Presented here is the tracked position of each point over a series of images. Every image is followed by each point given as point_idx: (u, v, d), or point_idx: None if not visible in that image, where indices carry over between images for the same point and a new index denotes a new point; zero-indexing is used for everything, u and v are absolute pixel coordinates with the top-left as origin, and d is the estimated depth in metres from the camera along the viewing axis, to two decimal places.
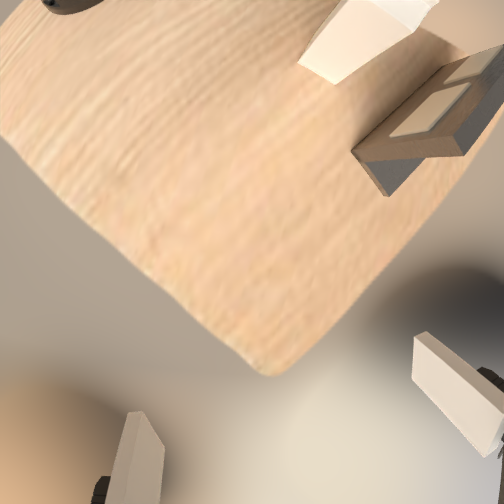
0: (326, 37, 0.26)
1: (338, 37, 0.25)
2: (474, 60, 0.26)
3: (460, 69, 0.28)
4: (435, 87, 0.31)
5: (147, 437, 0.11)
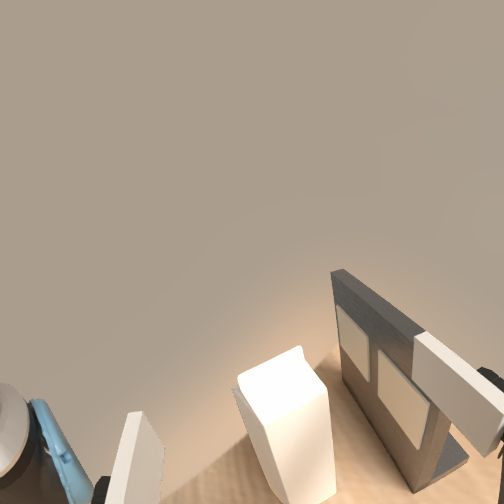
0: (290, 480, 0.23)
1: (297, 469, 0.23)
2: (348, 341, 0.40)
3: (356, 359, 0.38)
4: (369, 392, 0.35)
5: (147, 437, 0.11)
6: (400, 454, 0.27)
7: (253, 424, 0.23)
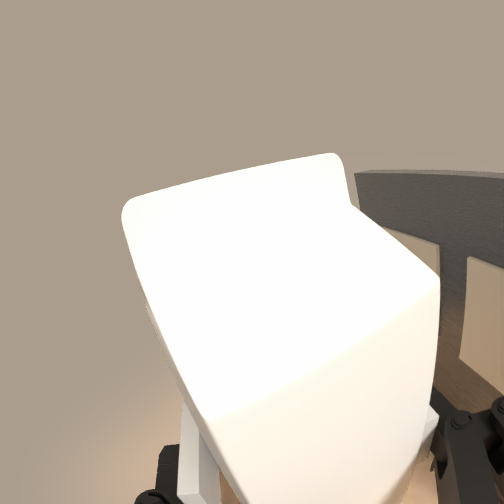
0: None
1: None
2: None
3: None
4: None
5: None
6: None
7: (195, 417, 0.07)
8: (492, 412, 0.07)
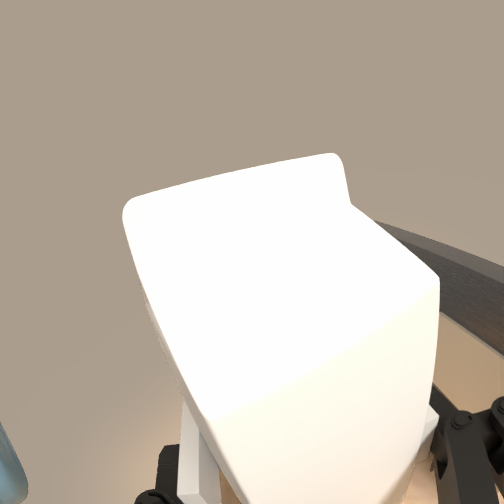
0: None
1: None
2: None
3: None
4: None
5: None
6: None
7: (195, 416, 0.07)
8: (492, 412, 0.07)
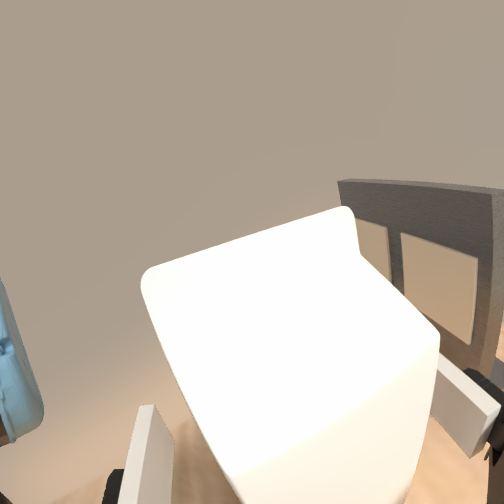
0: None
1: None
2: (363, 252, 0.36)
3: None
4: None
5: (159, 430, 0.12)
6: None
7: (212, 453, 0.07)
8: None
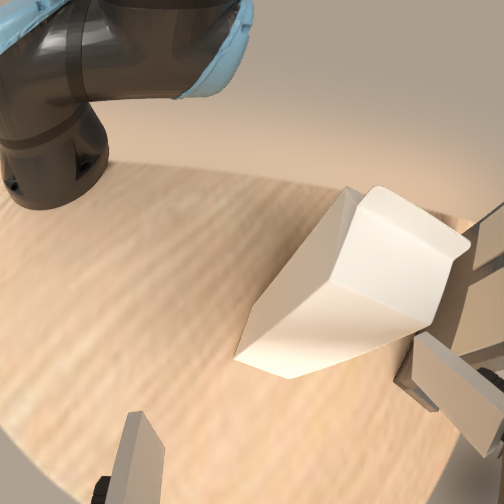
0: (273, 340, 0.20)
1: (292, 341, 0.19)
2: (492, 229, 0.31)
3: (482, 245, 0.31)
4: (462, 276, 0.33)
5: (147, 437, 0.11)
6: None
7: (318, 254, 0.15)
8: None
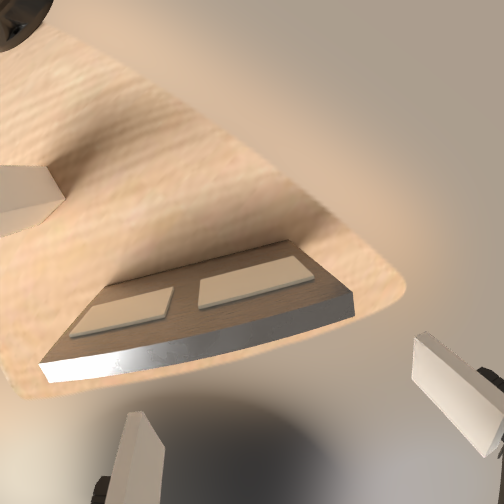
0: None
1: None
2: (261, 273, 0.29)
3: (236, 274, 0.31)
4: (202, 276, 0.34)
5: (147, 437, 0.11)
6: (129, 286, 0.36)
7: None
8: None
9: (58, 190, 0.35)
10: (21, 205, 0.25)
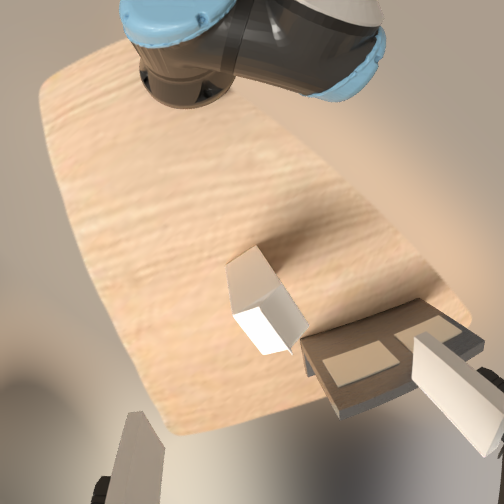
0: None
1: None
2: (431, 329, 0.44)
3: (415, 329, 0.45)
4: (388, 330, 0.48)
5: (147, 437, 0.11)
6: (331, 339, 0.51)
7: (251, 294, 0.33)
8: None
9: None
10: None
